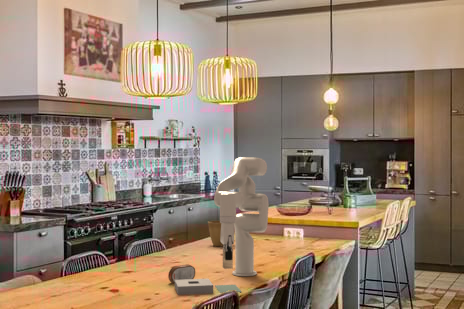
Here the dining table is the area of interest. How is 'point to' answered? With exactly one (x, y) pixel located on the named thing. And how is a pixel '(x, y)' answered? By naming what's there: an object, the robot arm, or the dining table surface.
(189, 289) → the grey plate with hole
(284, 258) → the dining table surface
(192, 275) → the tin
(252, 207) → the robot arm
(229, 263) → the plug
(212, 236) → the plant pot
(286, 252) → the dining table surface
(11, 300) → the dining table surface
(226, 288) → the mat
